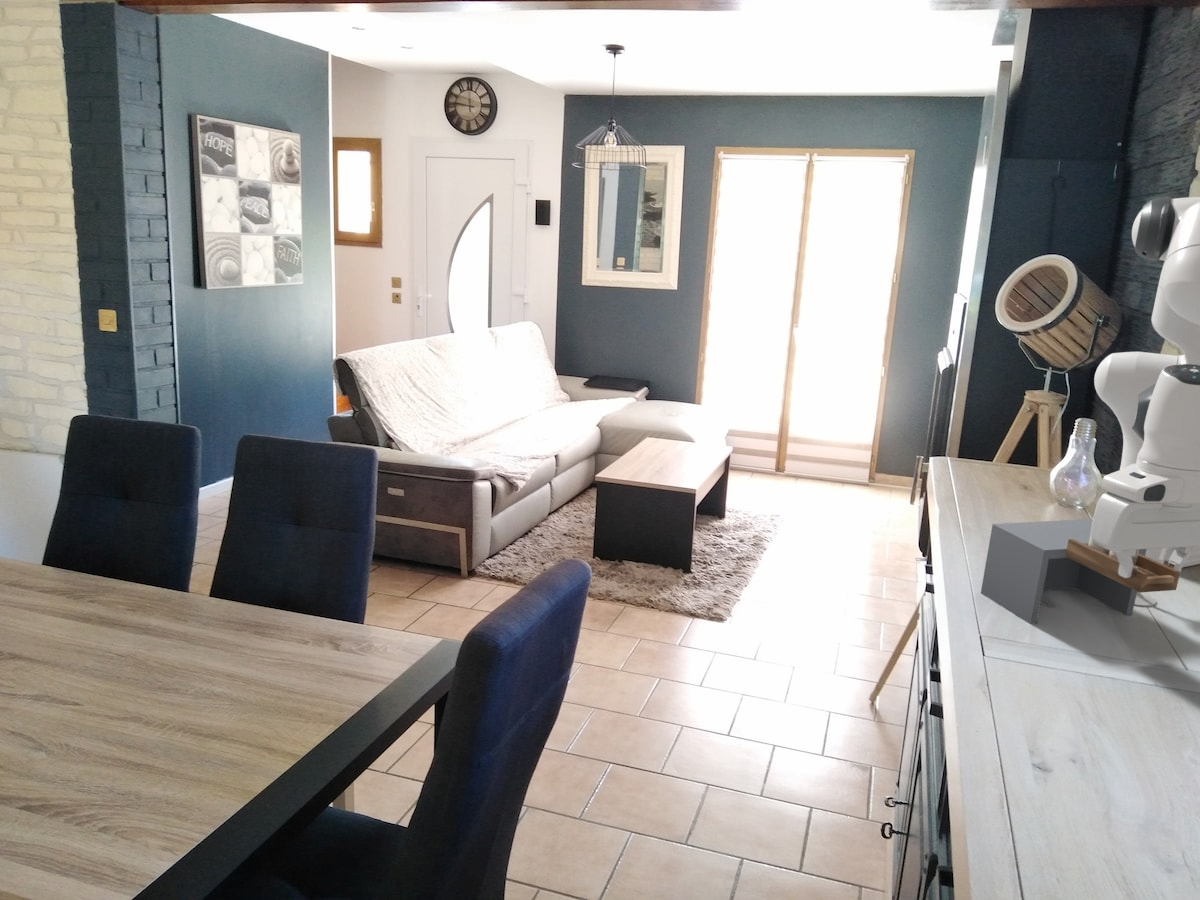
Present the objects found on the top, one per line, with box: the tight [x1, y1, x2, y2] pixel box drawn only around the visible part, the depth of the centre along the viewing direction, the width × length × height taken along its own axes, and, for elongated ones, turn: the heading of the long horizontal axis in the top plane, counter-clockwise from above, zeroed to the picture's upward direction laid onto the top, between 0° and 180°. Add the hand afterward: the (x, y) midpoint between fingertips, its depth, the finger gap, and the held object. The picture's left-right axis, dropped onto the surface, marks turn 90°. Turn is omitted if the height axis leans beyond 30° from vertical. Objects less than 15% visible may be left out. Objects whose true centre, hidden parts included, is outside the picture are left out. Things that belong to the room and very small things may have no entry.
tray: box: [1065, 534, 1181, 593], centre depth 133 cm, size 6×14×5 cm, turn 15°
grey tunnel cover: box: [980, 518, 1146, 625], centre depth 149 cm, size 20×12×12 cm, turn 105°
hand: (1148, 575), depth 129 cm, fingers closed on tray, 6 cm apart
